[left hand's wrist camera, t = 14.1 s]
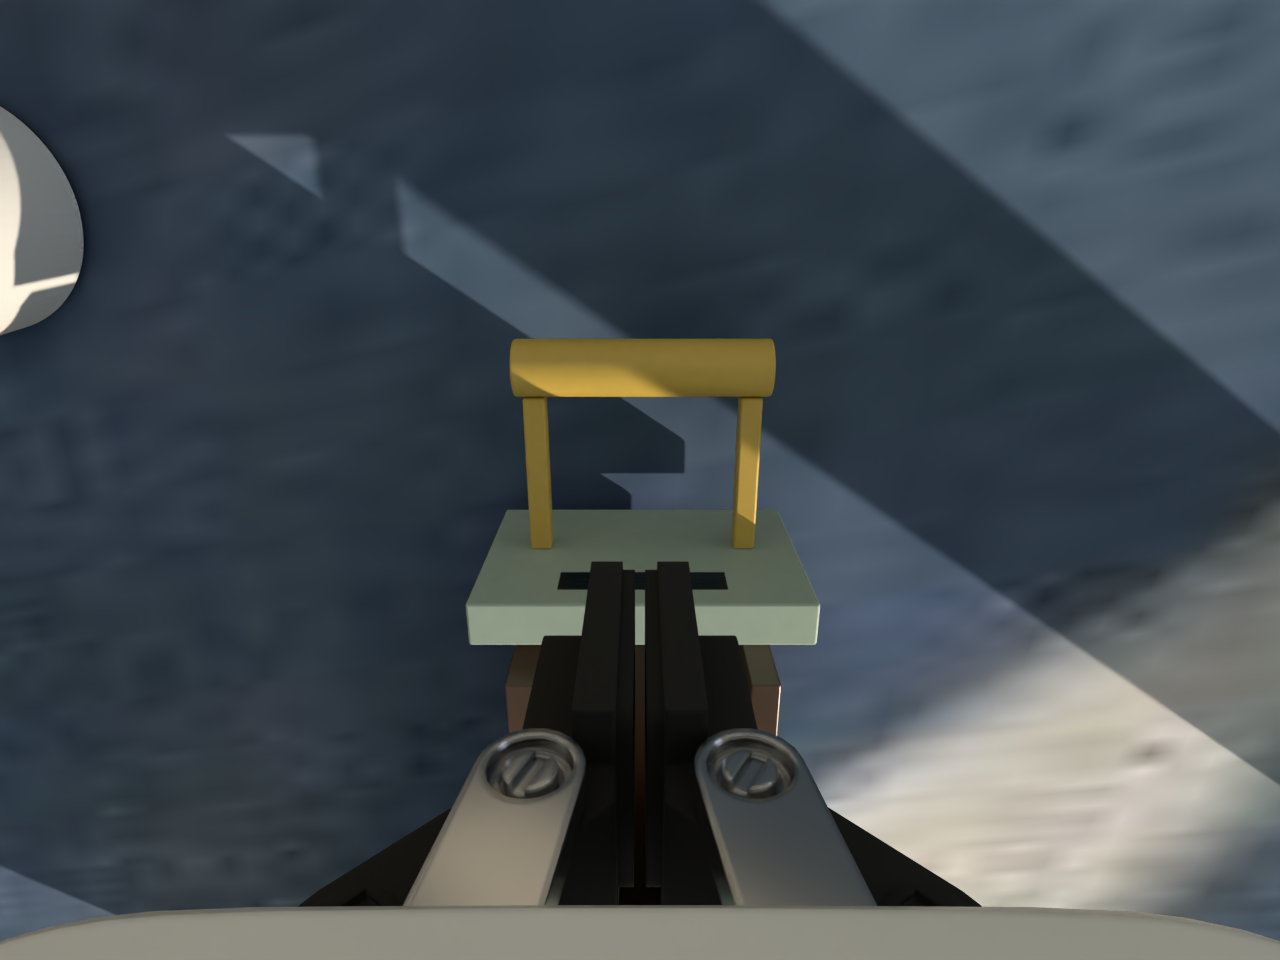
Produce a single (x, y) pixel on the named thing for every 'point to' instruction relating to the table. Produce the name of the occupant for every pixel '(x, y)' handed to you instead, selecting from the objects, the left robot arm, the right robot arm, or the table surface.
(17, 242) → the coffee cup
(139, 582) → the table surface
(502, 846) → the left robot arm
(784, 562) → the drawer
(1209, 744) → the table surface
